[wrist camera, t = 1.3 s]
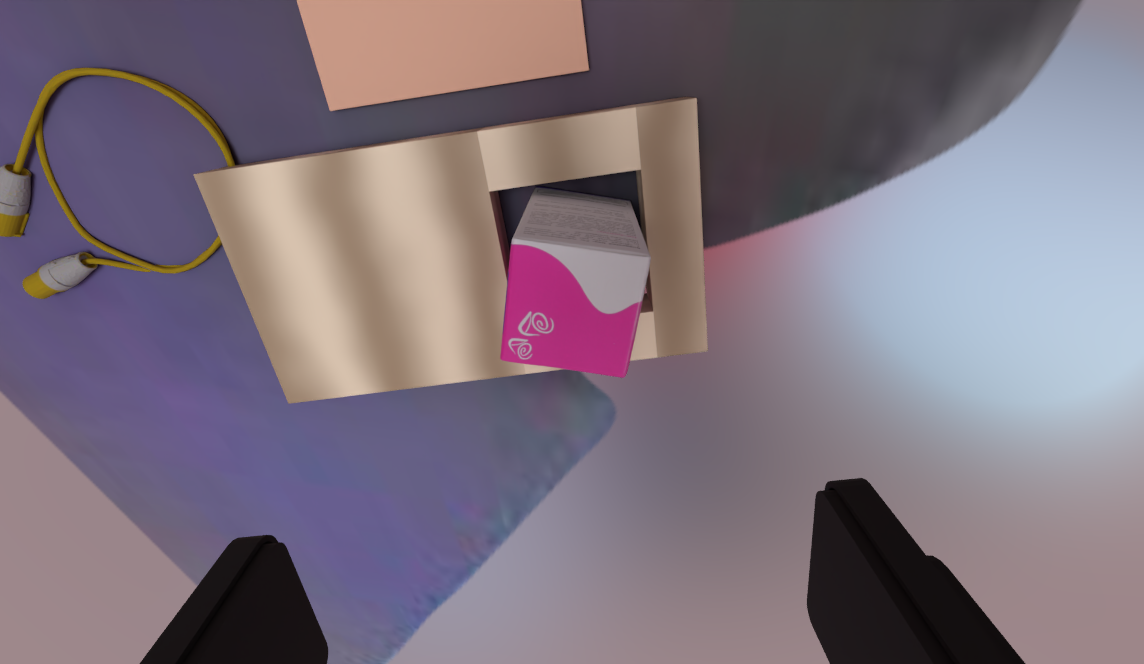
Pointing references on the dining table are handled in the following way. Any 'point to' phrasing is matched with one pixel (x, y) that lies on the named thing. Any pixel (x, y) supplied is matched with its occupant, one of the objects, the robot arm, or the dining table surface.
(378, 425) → the dining table surface
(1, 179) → the extension cord
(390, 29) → the mat
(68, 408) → the dining table surface
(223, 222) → the wooden cutout board
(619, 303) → the supplement box
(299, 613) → the robot arm
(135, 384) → the dining table surface
